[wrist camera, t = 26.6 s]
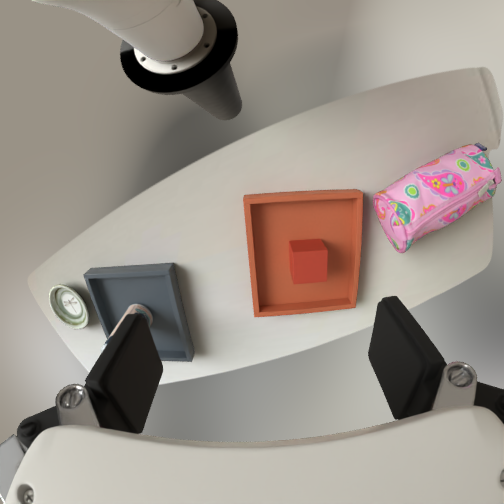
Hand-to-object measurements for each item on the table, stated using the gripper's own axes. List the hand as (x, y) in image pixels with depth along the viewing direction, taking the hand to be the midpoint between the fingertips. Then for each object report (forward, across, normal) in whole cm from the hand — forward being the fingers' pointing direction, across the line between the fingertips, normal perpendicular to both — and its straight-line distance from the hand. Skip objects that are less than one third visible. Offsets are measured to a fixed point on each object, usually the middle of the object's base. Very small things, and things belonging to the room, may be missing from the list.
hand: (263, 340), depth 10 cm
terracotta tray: (+28, -6, +8) cm, 30 cm away
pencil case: (+28, -26, -1) cm, 39 cm away
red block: (+28, -6, +8) cm, 29 cm away
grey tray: (+28, +21, +17) cm, 39 cm away
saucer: (+28, +36, +15) cm, 48 cm away
